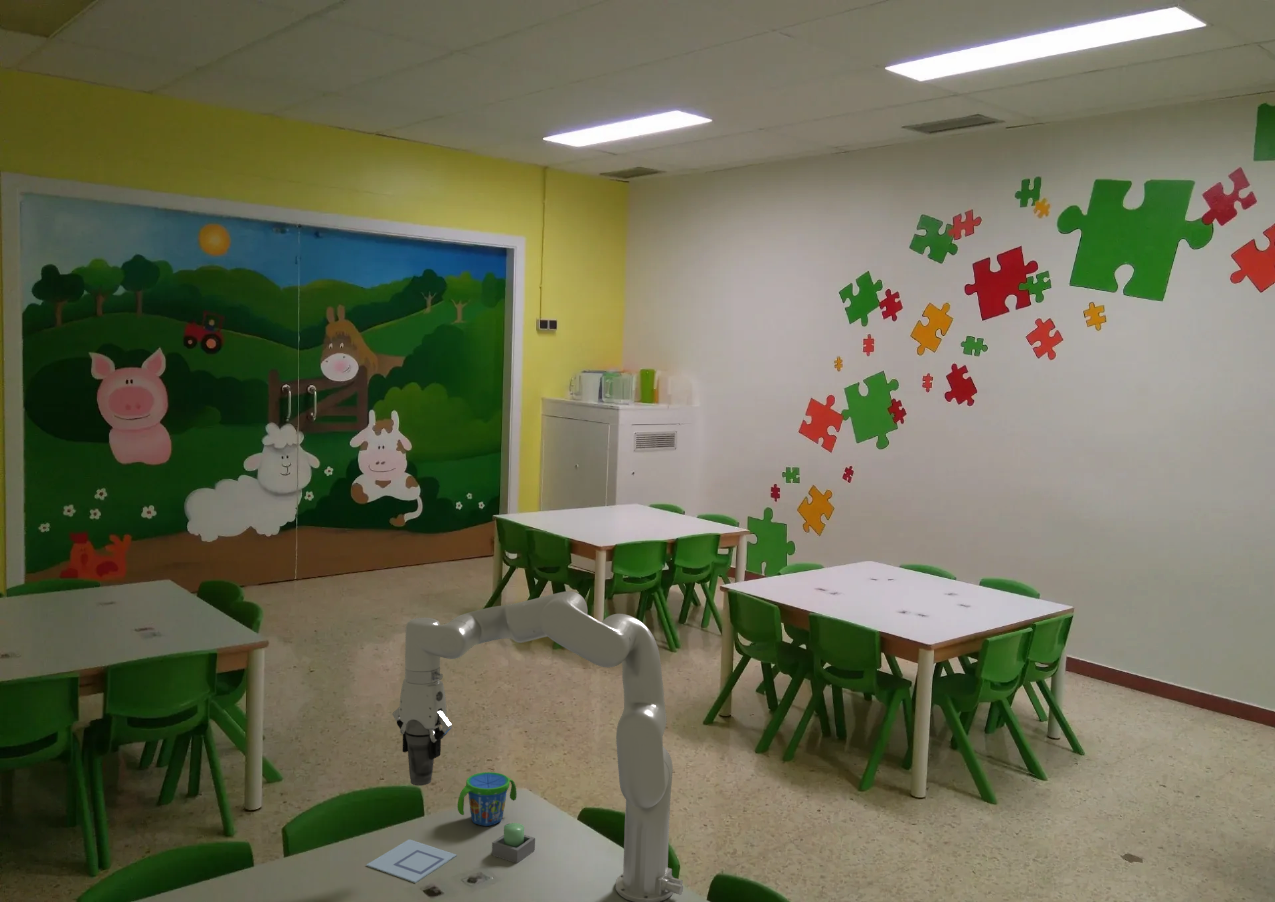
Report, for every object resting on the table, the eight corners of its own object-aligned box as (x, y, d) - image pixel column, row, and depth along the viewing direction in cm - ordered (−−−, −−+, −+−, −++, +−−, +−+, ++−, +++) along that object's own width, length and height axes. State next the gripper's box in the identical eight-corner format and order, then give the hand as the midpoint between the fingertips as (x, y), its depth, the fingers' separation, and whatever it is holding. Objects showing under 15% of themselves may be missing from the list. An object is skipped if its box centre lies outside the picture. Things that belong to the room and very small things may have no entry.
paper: (456, 856, 222) (456, 854, 222) (415, 883, 210) (415, 881, 210) (409, 840, 229) (409, 839, 229) (366, 865, 217) (366, 864, 217)
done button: (527, 842, 226) (528, 826, 225) (516, 851, 222) (516, 834, 221) (511, 837, 228) (511, 821, 227) (499, 846, 224) (499, 829, 223)
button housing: (534, 850, 226) (535, 838, 226) (517, 863, 220) (517, 850, 220) (509, 842, 230) (510, 830, 229) (491, 855, 223) (492, 842, 223)
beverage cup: (433, 789, 213) (434, 699, 212) (400, 787, 214) (401, 698, 212) (440, 775, 221) (442, 688, 219) (408, 774, 221) (409, 687, 219)
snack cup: (506, 805, 249) (507, 766, 249) (525, 821, 241) (526, 781, 240) (448, 818, 241) (449, 778, 240) (466, 836, 232) (467, 794, 231)
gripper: (464, 677, 215) (463, 756, 216) (403, 664, 223) (402, 740, 224) (442, 686, 208) (441, 768, 209) (380, 672, 216) (379, 751, 217)
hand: (421, 753), depth 217 cm, fingers closed on beverage cup, 6 cm apart
